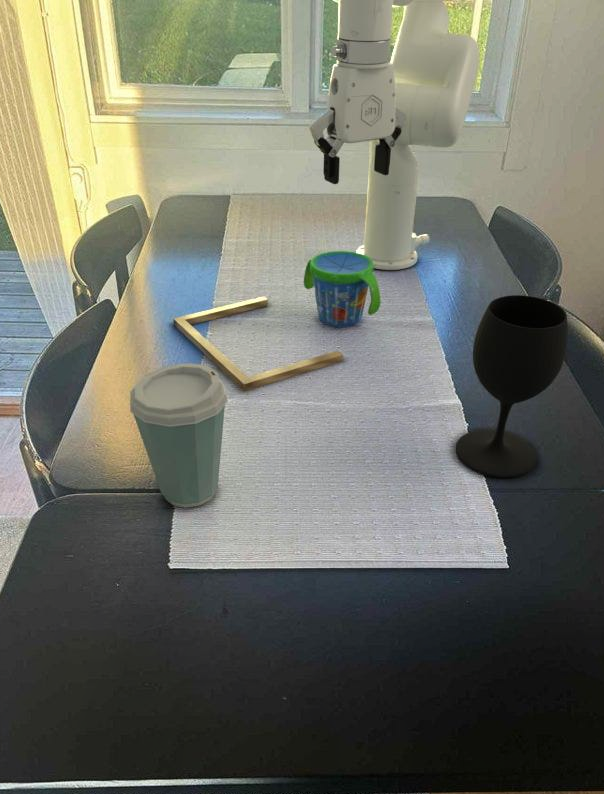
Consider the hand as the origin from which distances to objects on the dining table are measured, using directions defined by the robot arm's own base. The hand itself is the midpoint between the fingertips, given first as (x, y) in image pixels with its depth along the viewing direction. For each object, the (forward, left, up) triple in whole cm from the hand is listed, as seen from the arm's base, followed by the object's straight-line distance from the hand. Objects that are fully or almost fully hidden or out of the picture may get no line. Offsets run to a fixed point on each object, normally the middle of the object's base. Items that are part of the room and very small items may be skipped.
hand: (356, 177), depth 112 cm
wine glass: (+9, +46, -22) cm, 52 cm away
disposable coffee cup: (+46, +32, -22) cm, 61 cm away
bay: (+20, +3, -22) cm, 30 cm away
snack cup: (+4, +3, -22) cm, 23 cm away
